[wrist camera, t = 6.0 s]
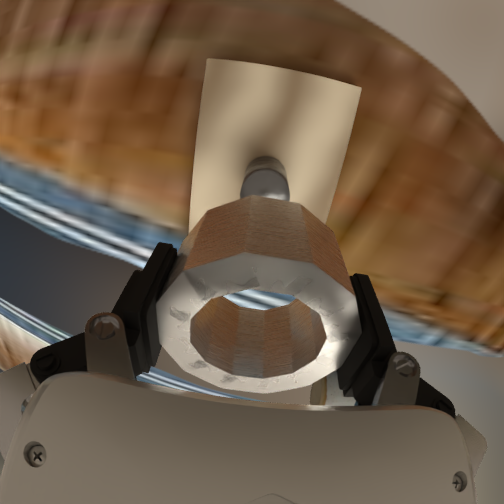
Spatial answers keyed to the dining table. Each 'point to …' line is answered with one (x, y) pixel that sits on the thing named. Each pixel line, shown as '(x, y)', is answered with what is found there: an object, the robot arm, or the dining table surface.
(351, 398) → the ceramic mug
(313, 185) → the block
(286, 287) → the ring
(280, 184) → the dark domed cylinder
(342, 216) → the dining table surface
